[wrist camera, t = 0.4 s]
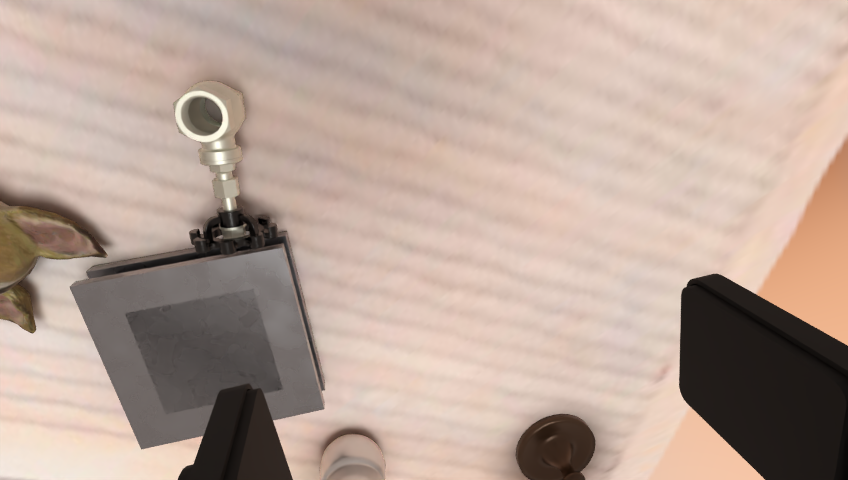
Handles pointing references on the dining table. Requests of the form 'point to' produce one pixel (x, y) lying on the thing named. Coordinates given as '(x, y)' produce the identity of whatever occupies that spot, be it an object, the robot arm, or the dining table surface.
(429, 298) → the dining table surface
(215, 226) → the valve
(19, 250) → the ceramic sculpture
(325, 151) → the dining table surface
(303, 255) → the dining table surface
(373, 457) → the plastic bottle
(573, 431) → the candlestick
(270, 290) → the stand
